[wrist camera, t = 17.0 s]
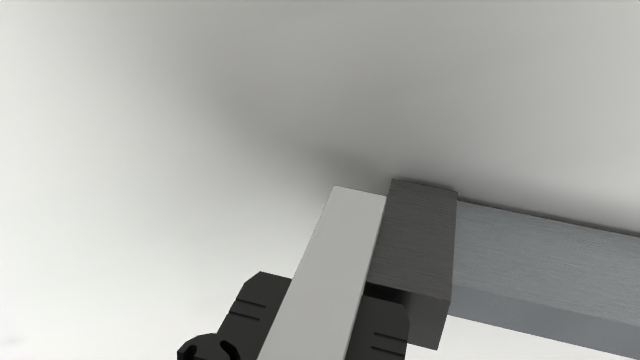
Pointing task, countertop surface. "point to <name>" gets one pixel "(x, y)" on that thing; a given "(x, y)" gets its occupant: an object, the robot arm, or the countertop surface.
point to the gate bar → (504, 272)
